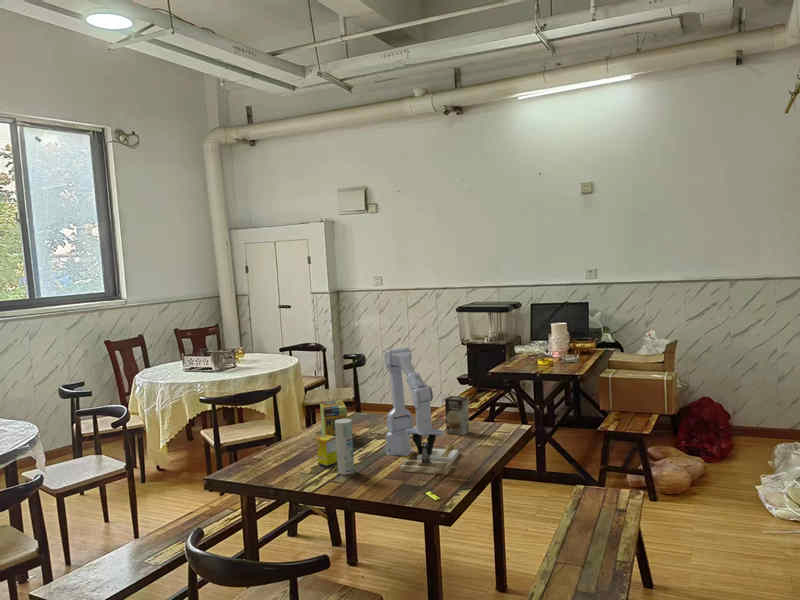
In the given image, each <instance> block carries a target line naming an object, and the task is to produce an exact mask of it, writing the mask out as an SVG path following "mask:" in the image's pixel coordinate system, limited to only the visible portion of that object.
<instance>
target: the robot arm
mask: <svg viewBox="0 0 800 600" xmlns="http://www.w3.org/2000/svg"><path fill="white" fill-rule="evenodd" d="M412 355H413V354H412V351H411V349H410V348H409V347H407V346H406V347H400V348H392V349H389V348H387V349H386V350H385V353H384V365H385V369H387V370H388V371H389V377H390V387H391V388H390V389H391V398H392V407H393V408H392V409H391V410H390V411H389V412H388V413H387V417H386V419H387V421H386V427H387V429H388V430H387V431H388V432H387V433H386V437H385V442H386V445H385V446H386V455H388V456H389V455H391V456H406V457H407V456H409V455H410V454H411V453H412V452H413V451H414V448H411V437H410V436H412V441H413V442H414V444H415V446H416V450H417V452H418V455H421V446H423V445H422V443H423V436H426V442H428V454H429V455H431V454H432V449H434V448H433V447H434V444H435V441H436V439H437V437H440V438H442V437H444V435H445V433H444V430H442V429H435V428H432V411H431V410H432V409H431V408H432V407H431V405H432V404H431V402H432V401H433V399H434V394H433V390H432V388H431V386H430V385H428V384H426V383H425V382H424V379H423V378H422V376H421V374H420V373H418V372H416V371H415V368H414V365H413V363H412V358H413V357H412ZM402 371H403V372H402ZM402 373H404V374H405V376H406V382H407V385H408V386H409V389H410V391H411V393H412V394H411V396H412V402H413V406H414V408H415V424H416V425H415V426H416V427H415V428H413V427H414V420H413V419H414V418H413V415H412V412H411V411H410V410H409V409H407V408H406V405H405V394H404V384H403V374H402Z"/></svg>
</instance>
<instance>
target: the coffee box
mask: <svg viewBox="0 0 800 600" xmlns="http://www.w3.org/2000/svg"><path fill="white" fill-rule="evenodd" d="M444 403H445V404H444V406H445V411H444V412H445V433H446V434H450V433H452V434H451V435H457V434H458V436H465V435H466V434H468V433H469V432H470V425H469V424H470V422H469V421H470V420H469V397H466V396H456V395H449V396H448V397H446V398H445V399H444Z"/></svg>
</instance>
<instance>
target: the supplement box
mask: <svg viewBox="0 0 800 600" xmlns="http://www.w3.org/2000/svg"><path fill="white" fill-rule="evenodd" d="M316 448H317V449H316V450H317V462H318V465H319V466H322V467H324V468H329V467H332V466H335V465H338V462H337V448H336V437H335V436H331V435H325V436H323V435H321V436H320V437H316Z"/></svg>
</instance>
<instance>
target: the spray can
mask: <svg viewBox="0 0 800 600" xmlns="http://www.w3.org/2000/svg"><path fill="white" fill-rule="evenodd" d="M335 433H336V448H337V462H338V464H337V472H338V474H339V475H343V476H347V475H346V474H348V475H351V473H352V474H353V473H354V472H355V459H354V456H355V455H354V441H353V440H354V437H353V422H352V419H351V418H347V419H338V420H336V421H335Z"/></svg>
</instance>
